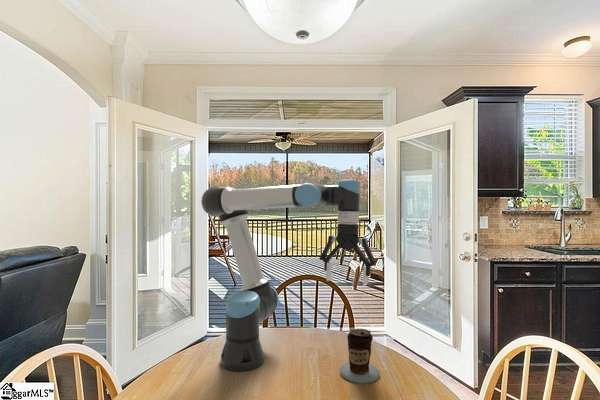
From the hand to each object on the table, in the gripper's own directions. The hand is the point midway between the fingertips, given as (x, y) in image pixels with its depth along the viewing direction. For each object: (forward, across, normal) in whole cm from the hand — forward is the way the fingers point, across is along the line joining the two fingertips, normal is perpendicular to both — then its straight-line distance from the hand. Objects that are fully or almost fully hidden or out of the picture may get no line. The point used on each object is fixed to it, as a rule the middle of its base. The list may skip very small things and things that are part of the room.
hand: (346, 282), depth 125 cm
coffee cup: (+27, +8, -6) cm, 29 cm away
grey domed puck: (+28, +7, -6) cm, 30 cm away
